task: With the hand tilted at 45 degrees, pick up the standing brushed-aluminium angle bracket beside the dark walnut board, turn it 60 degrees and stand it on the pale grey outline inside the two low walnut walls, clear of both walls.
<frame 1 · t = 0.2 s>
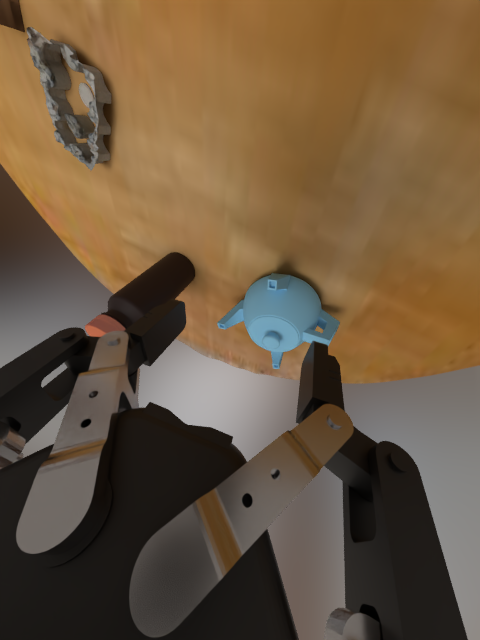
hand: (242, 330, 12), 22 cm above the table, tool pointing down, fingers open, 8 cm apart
bottle: (181, 267, 40), on the table
teapot: (281, 301, 37), on the table
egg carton: (91, 113, 27), on the table
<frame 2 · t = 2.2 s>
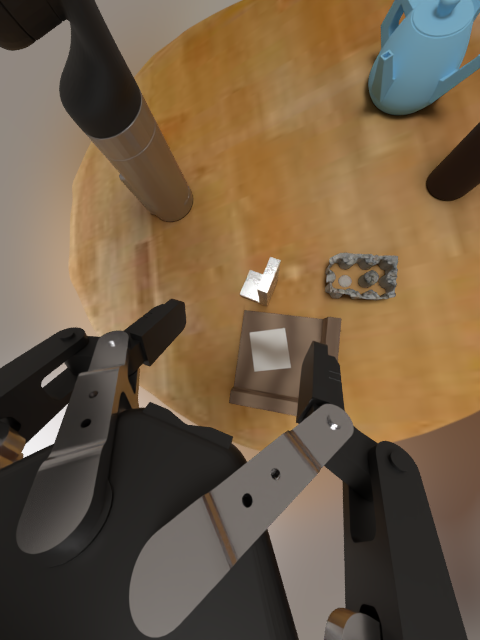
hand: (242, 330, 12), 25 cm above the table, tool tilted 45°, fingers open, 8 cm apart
bottle: (445, 185, 35), on the table
arena: (282, 359, 35), on the table
teapot: (402, 92, 38), on the table
bracket: (268, 292, 37), on the table
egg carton: (353, 281, 35), on the table
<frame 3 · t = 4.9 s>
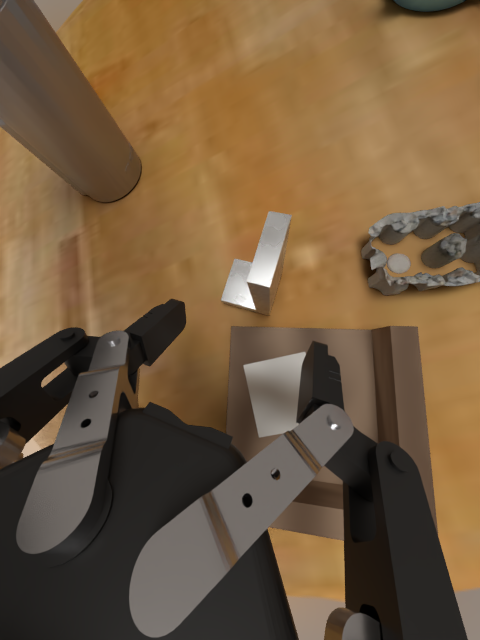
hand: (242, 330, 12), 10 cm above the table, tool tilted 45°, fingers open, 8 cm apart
arena: (306, 407, 20), on the table
bracket: (269, 293, 22), on the table
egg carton: (412, 261, 21), on the table
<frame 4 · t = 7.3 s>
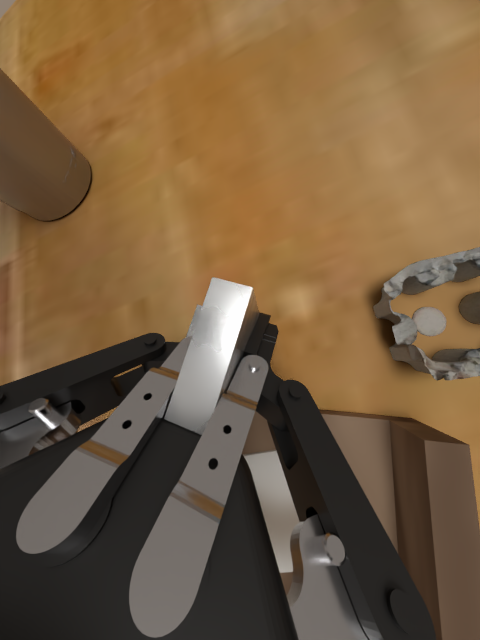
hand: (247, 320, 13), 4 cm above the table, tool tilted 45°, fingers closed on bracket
arena: (295, 526, 14), on the table
bracket: (245, 351, 16), on the table, touching gripper
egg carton: (446, 314, 15), on the table
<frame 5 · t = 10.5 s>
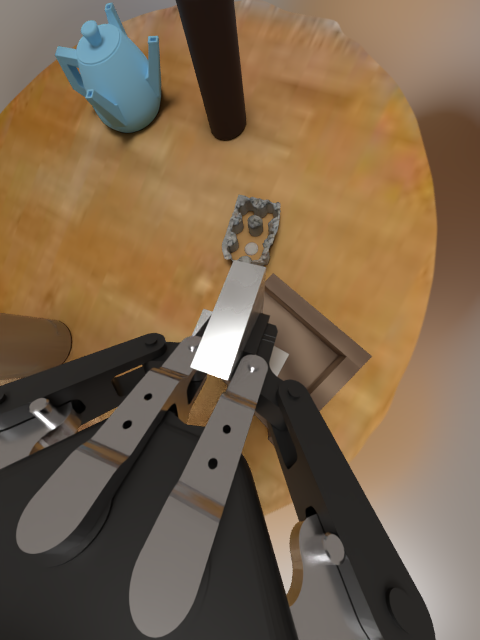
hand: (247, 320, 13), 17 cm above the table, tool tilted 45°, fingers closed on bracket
bottle: (228, 127, 36), on the table
arena: (275, 355, 29), on the table
teapot: (136, 110, 41), on the table
bracket: (245, 354, 17), point 12 cm above the table, tilted 12°, touching gripper
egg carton: (252, 240, 33), on the table
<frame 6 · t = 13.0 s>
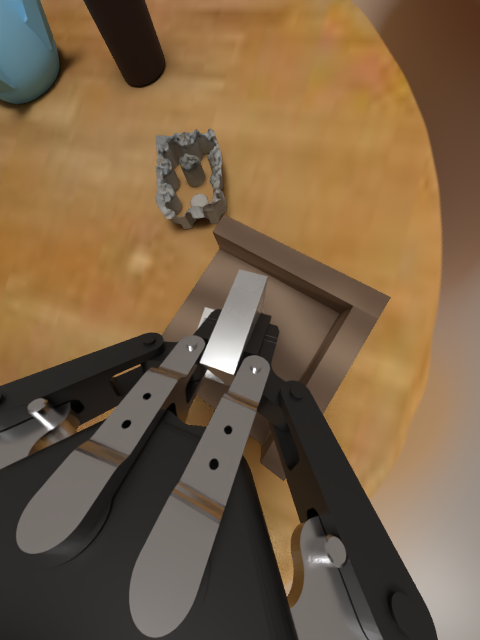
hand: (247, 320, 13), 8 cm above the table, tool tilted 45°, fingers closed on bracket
bottle: (145, 72, 29), on the table
arena: (253, 334, 20), on the table
teapot: (33, 78, 33), on the table
bracket: (244, 361, 18), point 2 cm above the table, tilted 15°, touching arena, gripper
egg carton: (197, 193, 25), on the table
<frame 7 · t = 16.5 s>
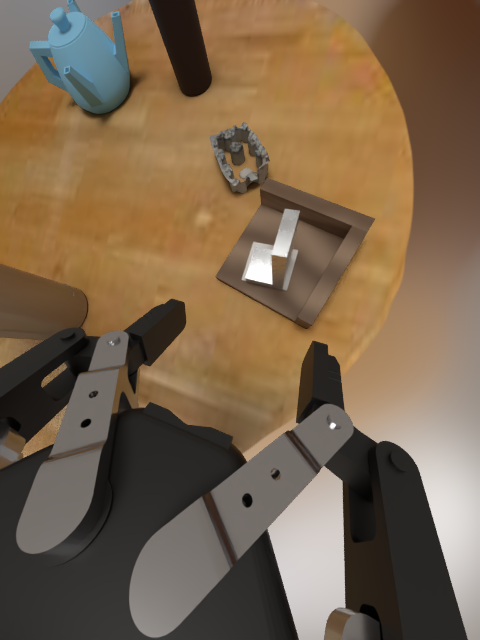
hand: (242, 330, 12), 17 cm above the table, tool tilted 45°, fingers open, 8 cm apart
bottle: (196, 84, 40), on the table
arena: (285, 258, 30), on the table
teapot: (109, 94, 44), on the table
bracket: (281, 273, 29), point 1 cm above the table, touching arena
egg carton: (241, 169, 35), on the table
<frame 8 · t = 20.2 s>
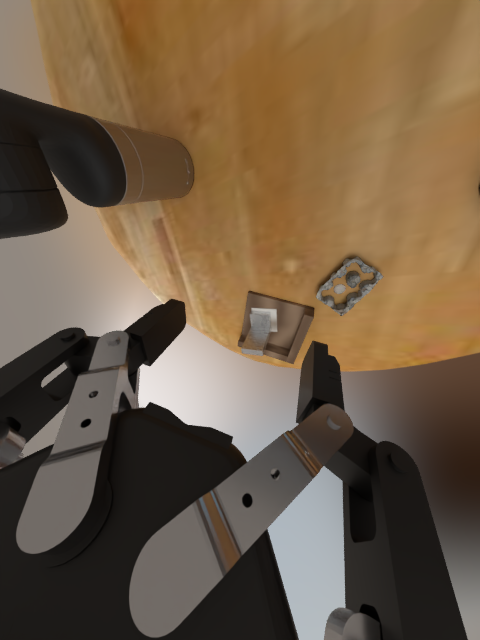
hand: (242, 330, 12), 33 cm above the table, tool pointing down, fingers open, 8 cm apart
arena: (273, 324, 52), on the table
bracket: (262, 326, 52), point 1 cm above the table, touching arena
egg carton: (344, 281, 40), on the table
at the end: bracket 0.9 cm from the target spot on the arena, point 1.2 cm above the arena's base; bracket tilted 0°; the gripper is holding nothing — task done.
